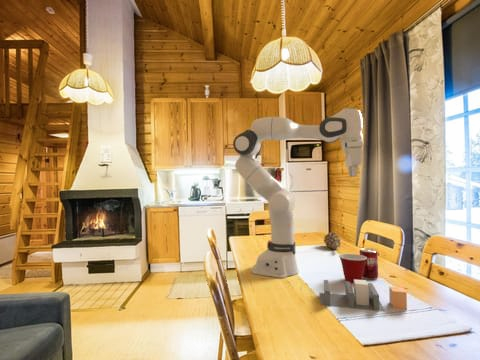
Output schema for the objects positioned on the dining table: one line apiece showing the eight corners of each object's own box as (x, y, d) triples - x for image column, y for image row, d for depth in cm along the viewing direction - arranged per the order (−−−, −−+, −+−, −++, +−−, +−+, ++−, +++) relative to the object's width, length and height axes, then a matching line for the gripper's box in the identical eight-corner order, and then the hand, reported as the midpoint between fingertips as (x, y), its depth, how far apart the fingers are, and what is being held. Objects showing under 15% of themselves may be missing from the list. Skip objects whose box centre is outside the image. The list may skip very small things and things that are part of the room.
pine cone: (320, 245, 173) (320, 230, 173) (335, 245, 174) (334, 230, 174) (333, 255, 151) (333, 237, 151) (350, 254, 152) (349, 237, 152)
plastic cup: (365, 280, 113) (365, 252, 113) (369, 290, 103) (368, 260, 103) (339, 278, 117) (338, 251, 117) (339, 287, 106) (339, 258, 106)
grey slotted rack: (320, 309, 89) (319, 290, 89) (319, 296, 99) (319, 279, 99) (385, 316, 84) (385, 295, 84) (377, 301, 94) (377, 283, 94)
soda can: (380, 280, 113) (379, 252, 113) (362, 279, 114) (361, 252, 114) (375, 274, 120) (374, 248, 120) (358, 273, 122) (357, 247, 122)
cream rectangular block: (356, 304, 89) (355, 283, 89) (354, 299, 93) (353, 279, 93) (369, 305, 88) (368, 284, 88) (366, 300, 92) (366, 280, 92)
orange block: (393, 312, 86) (392, 291, 86) (389, 306, 90) (389, 286, 90) (407, 313, 85) (406, 292, 85) (402, 308, 89) (402, 287, 89)
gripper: (341, 148, 126) (342, 176, 126) (347, 142, 107) (348, 176, 107) (355, 147, 125) (356, 176, 125) (364, 141, 105) (365, 176, 105)
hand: (353, 176), depth 116 cm, fingers open, 8 cm apart
